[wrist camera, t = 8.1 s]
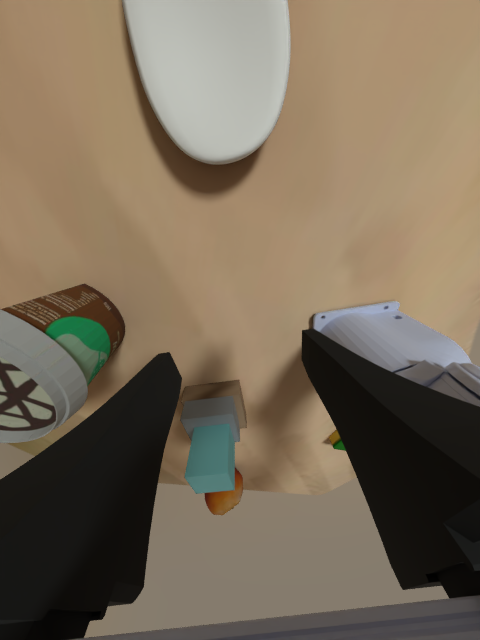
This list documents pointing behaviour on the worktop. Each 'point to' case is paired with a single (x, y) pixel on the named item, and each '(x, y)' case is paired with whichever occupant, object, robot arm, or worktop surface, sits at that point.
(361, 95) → the worktop surface
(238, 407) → the walnut slab
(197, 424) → the gray block
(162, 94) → the spoon
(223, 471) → the teal block
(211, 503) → the fruit
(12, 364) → the food container
